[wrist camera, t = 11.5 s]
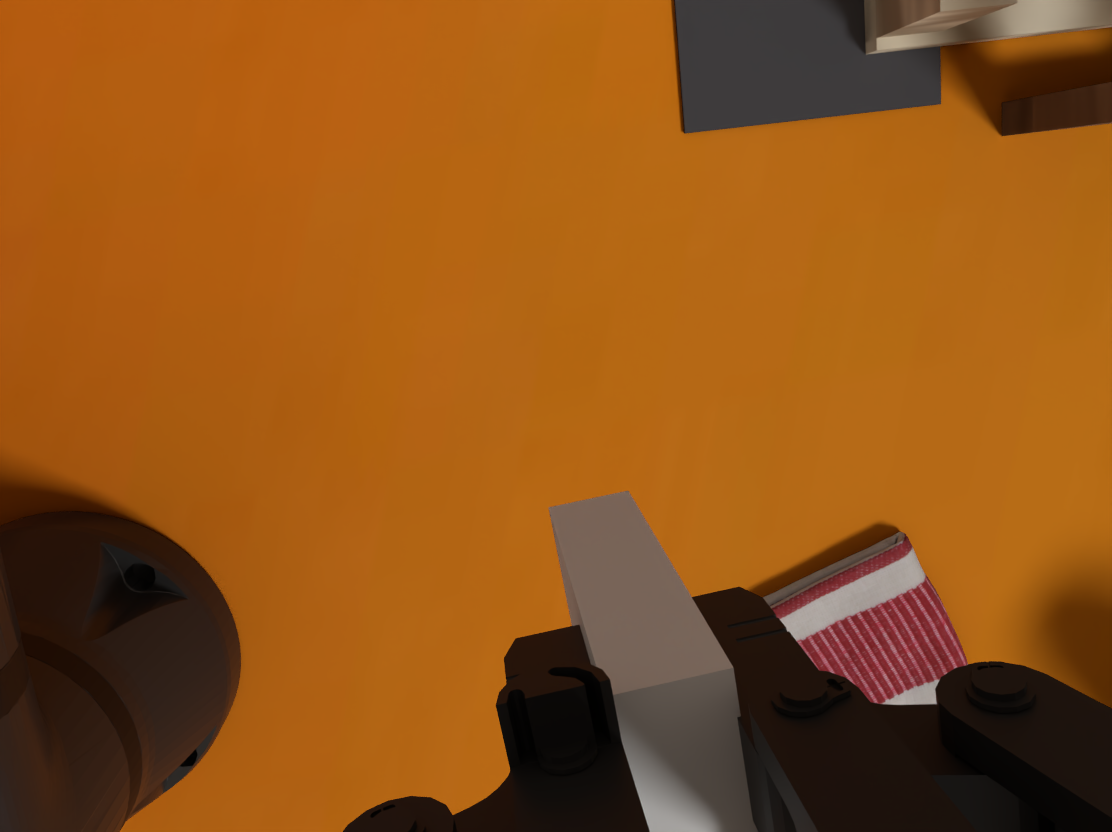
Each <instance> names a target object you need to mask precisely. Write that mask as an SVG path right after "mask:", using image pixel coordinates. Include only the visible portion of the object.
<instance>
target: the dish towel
mask: <svg viewBox="0 0 1112 832" xmlns="http://www.w3.org/2000/svg"><path fill="white" fill-rule="evenodd" d="M763 598H764V600H765V601H766V602H767V604H768V605H769V606H770V607H771V609H772V610H773V611H774V613H775V614H776V617H777V618H779V619H780V620H781V622H782V623H783V624H784V625H785V627H786V629H787V632H788V631H789V632H790V633H791V635H792V636H793V637H794V638H795V640H796V641H797V642H798V644H799V645H800V646H801V647H802V649H803V650H804V651H805V653H806V654H807V655H808V656H809V658H810V659H811V660H812V662H813V663H814V664H815V665H816V667H817V668H818V669H819V670H820V671H828V672H831V673H834V674H837V675H840V676H843V677H846V678H847V679H848V680H850V681H851V682H852V683H853V684H855V685H856V686H857V687H859V689H860V690H861V691H862V692H863V693H864V695H865V696H866V697H867V698H868V699H869V701H870V702H873V703H878V704H892V705H914V704H937V703H936V692H935V688H936V686H937V684H938V682H939V680H940V678H941V677H942V676H943V675H945V674H947V673H948V672H950V671H951V670H953V669H954V668H957V667H961V666H965V665H968V663H967V659H966V656H965V654H964V651H963V649H962V646H961V644H960V641H959V639H958V637H957V634H956V632H955V630H954V628H953V626H952V624H951V621H950V619H949V617H948V615H947V612H946V610H945V608H944V606H943V604H942V601H941V599H940V598H939V596H938V594H937V592H936V590H935V588H934V587H933V585H932V584H931V582H930V580H929V579H928V577H927V576H926V575H925V573H924V572H923V570H922V568H921V565H920V563H919V561H918V559H917V556H916V554H915V552H914V549H913V547H912V545H911V543H910V541H909V539H908V537H907V536H906V534H905V533H903V532H898V533H897V534H895V535H893V536H891V537H889V538H886V539H884V540H882V541H880V542H878V543H876V544H875V545H872V546H870V547H868V548H866V549H864V550H862V551H860V552H858V553H855V554H853V555H851V556H849V557H847V558H845V559H842V560H840V561H838V562H836V563H834V564H831V565H829V566H827V567H825V568H823V569H821V570H819V571H816V572H814V573H812V574H811V575H809V576H807V577H804V578H802V579H800V580H798V581H796V582H794V583H792V584H790V585H788V586H786V587H784V588H782V589H780V590H778V591H776V592H774V593H772V594H769V595H767V596H765V597H763Z"/></svg>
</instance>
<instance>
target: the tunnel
mask: <svg viewBox="0 0 1112 832" xmlns="http://www.w3.org/2000/svg"><path fill="white" fill-rule="evenodd" d="M1109 123H1112V82H1108V83H1103V84H1097V85H1092V86H1087V87H1082V88H1076V89H1071V90H1066V91H1061V92H1055V93H1050V94H1045V95H1039V96H1034V97H1029V98H1024V99H1018V100H1013V101H1008V102H1003V103H1002V136H1007V135H1015V134H1024V133H1032V132H1041V131H1049V130H1058V129H1067V128H1075V127H1084V126H1092V125H1101V124H1109Z"/></svg>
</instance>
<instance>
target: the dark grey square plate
mask: <svg viewBox="0 0 1112 832" xmlns="http://www.w3.org/2000/svg"><path fill="white" fill-rule="evenodd" d="M674 2H675V15H676V28H677V41H678V54H679V67H680V81H681V94H682V107H683V120H684V133H692V132H701V131H710V130H718V129H727V128H736V127H744V126H753V125H762V124H771V123H779V122H788V121H797V120H806V119H814V118H823V117H832V116H840V115H849V114H858V113H867V112H875V111H884V110H893V109H902V108H910V107H919V106H928V105H936V104H941V71H940V46H938V47H929V48H920V49H911V50H903V51H894V52H885V53H876V54H867V55H866V45H865V11H864V0H674Z"/></svg>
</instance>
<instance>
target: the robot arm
mask: <svg viewBox="0 0 1112 832" xmlns="http://www.w3.org/2000/svg"><path fill="white" fill-rule="evenodd" d="M549 512H550V517H551V522H552V527H553V532H554V537H555V542H556V547H557V552H558V557H559V562H560V567H561V572H562V577H563V583H564V588H565V593H566V598H567V603H568V608H569V613H570V618H571V623H572V626H570V627H566V628H561V629H557V630H552V631H548V632H543V633H539V634H534V635H530V636H525V637H520V638H516V639H515V640H514V642H513V644H512V646H511V647H510V649H509V651H508V652H507V654H506V656H505V657H504V663H505V673H506V680H507V681H506V683H507V684H506V686H505V687H504V688H503V689H502V690H501V691H500V692H499V695H498V699H497V703H496V708H497V712H498V717H499V721H500V726H501V730H502V734H503V739H504V743H505V748H506V752H507V757H508V761H509V765H510V773H509V775H508V777H507V778H506V780H505V781H504V782H503V783H502V784H501V786H500V787H499V788H498V789H497V790H495V791H494V792H493V793H492V794H491V795H489V796H488V797H487V798H485V799H484V800H482V801H480V802H478V803H477V804H475V805H473V806H471V807H470V808H467V809H465V810H463V811H461V812H459V813H457V814H455V815H452V814H451V812H450V810H449V809H448V807H447V806H446V805H445V804H443V803H441V802H439V801H437V800H435V799H433V798H431V797H416V796H409V797H404V798H399V799H394V800H389V801H387V802H384V803H382V804H380V805H377V806H375V807H373V808H371V809H369V810H367V811H365V812H364V813H363V814H361V815H360V816H359V817H358V818H356V819H355V820H354V821H352V822H351V823H350V824H348V825H347V827H346V828H345V829H344V831H343V832H1112V709H1111V708H1110V707H1108V706H1106V705H1104V704H1102V703H1100V702H1098V701H1096V700H1094V699H1092V698H1090V697H1089V696H1087V695H1085V694H1083V693H1081V692H1079V691H1077V690H1075V689H1073V688H1071V687H1070V686H1068V685H1066V684H1064V683H1062V682H1060V681H1058V680H1056V679H1054V678H1052V677H1050V676H1049V675H1047V674H1044V673H1042V672H1039V671H1036V670H1034V669H1031V668H1029V667H1026V666H1022V665H1016V664H1009V663H1004V662H992V661H989V662H978V663H973V664H969V665H965V666H961V667H957V668H954V669H953V670H951V671H950V672H948V673H947V674H945V675H943V676H942V677H941V678H940V680H939V682H938V684H937V686H936V688H935V692H936V703H937V704H914V705H892V704H878V703H873V702H870V701H869V699H868V698H867V697H866V696H865V695H864V693H863V692H862V691H861V690H860V689H859V687H857V686H856V685H855V684H853V683H852V682H851V681H850V680H848V679H847V678H846V677H843V676H840V675H837V674H834V673H831V672H828V671H820V670H819V669H818V668H817V667H816V665H815V664H814V663H813V662H812V660H811V659H810V658H809V656H808V655H807V654H806V653H805V651H804V650H803V649H802V647H801V646H800V645H799V644H798V642H797V641H796V640H795V638H794V637H793V636H792V635H791V633H790V632H789V631H788V632H787V629H786V627H785V625H784V624H783V623H782V622H781V620H780V619H779V618H777V617H776V614H775V613H774V611H773V610H772V609H771V607H770V606H769V605H768V604H767V602H766V601H765V600H764V598H762V597H760V596H758V595H756V594H754V593H751V592H749V591H747V590H745V589H743V588H741V587H736V588H731V589H727V590H722V591H718V592H713V593H709V594H704V595H700V596H695V597H691V595H690V594H689V592H688V590H687V589H686V587H685V585H684V584H683V582H682V580H681V579H680V577H679V575H678V574H677V572H676V570H675V569H674V567H673V565H672V563H671V562H670V560H669V558H668V557H667V555H666V553H665V552H664V550H663V548H662V547H661V545H660V543H659V542H658V540H657V538H656V537H655V535H654V533H653V532H652V530H651V528H650V526H649V525H648V523H647V521H646V520H645V518H644V516H643V515H642V513H641V511H640V510H639V508H638V506H637V505H636V503H635V501H634V500H633V498H632V496H631V495H630V493H629V491H625V492H620V493H615V494H610V495H606V496H601V497H596V498H592V499H587V500H582V501H577V502H573V503H568V504H563V505H559V506H554V507H549ZM240 669H241V653H240V643H239V638H238V633H237V629H236V625H235V622H234V619H233V616H232V614H231V611H230V609H229V607H228V604H227V603H226V601H225V599H224V597H223V595H222V593H221V592H220V590H219V589H218V587H217V586H216V584H215V583H214V582H213V580H212V579H211V578H210V576H209V575H208V574H207V573H206V572H205V570H204V569H203V568H202V567H201V566H200V565H199V564H198V563H197V562H196V561H195V560H194V559H193V558H192V557H191V556H189V555H188V554H187V553H186V552H185V551H183V550H182V549H181V548H179V547H178V546H177V545H176V544H174V543H172V542H171V541H169V540H168V539H166V538H165V537H163V536H161V535H159V534H158V533H156V532H154V531H152V530H150V529H148V528H145V527H143V526H141V525H138V524H136V523H133V522H130V521H127V520H124V519H121V518H117V517H113V516H109V515H103V514H98V513H90V512H76V511H65V512H51V513H43V514H37V515H33V516H28V517H24V518H21V519H18V520H15V521H12V522H9V523H7V524H4V525H2V526H0V832H120V830H121V828H122V827H123V825H124V823H125V822H126V821H127V820H128V819H130V818H131V817H132V816H134V815H135V814H136V813H138V812H139V811H140V810H142V809H143V808H144V807H146V806H147V805H148V804H150V803H151V802H153V801H154V800H155V799H157V798H158V797H159V796H161V795H162V794H163V793H164V792H166V791H167V790H169V789H170V788H171V787H173V786H174V785H175V784H176V783H178V782H179V781H180V780H182V779H183V778H184V777H185V776H186V775H187V774H188V773H189V772H190V771H191V770H192V769H193V768H194V767H195V766H196V765H197V764H198V763H199V762H200V760H201V759H202V758H203V757H204V755H205V754H206V753H207V752H208V750H209V749H210V747H211V746H212V744H213V742H214V741H215V739H216V737H217V735H218V733H219V731H220V729H221V727H222V725H223V724H224V722H225V720H226V718H227V716H228V714H229V711H230V709H231V707H232V705H233V702H234V699H235V696H236V693H237V689H238V684H239V678H240Z"/></svg>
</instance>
